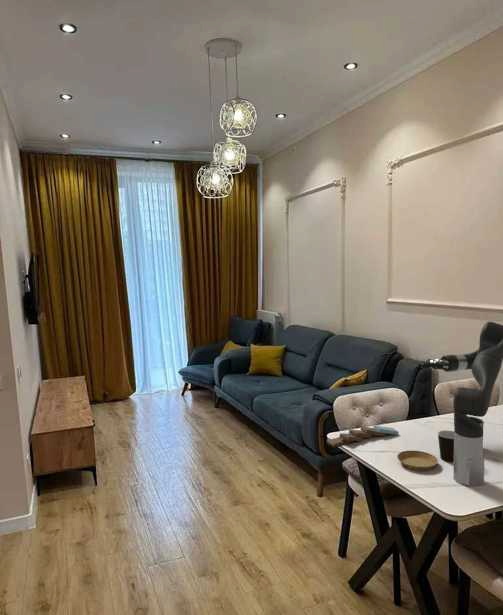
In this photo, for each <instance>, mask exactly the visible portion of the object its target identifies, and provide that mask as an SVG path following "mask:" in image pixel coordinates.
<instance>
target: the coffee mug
mask: <svg viewBox="0 0 503 615" xmlns="http://www.w3.org/2000/svg"><path fill="white" fill-rule="evenodd" d="M437 438H438V448H439V458H440V460H441V461H443V462H446V463H454V430H440V431H438V432H437Z"/></svg>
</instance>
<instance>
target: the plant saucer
mask: <svg viewBox="0 0 503 615" xmlns="http://www.w3.org/2000/svg"><path fill="white" fill-rule="evenodd" d="M397 459H398V461H399V462H400V463H401V464H402V465H403V466H404V467H406V468H408V469H411V470H414V471H428V470H430V469H433V468H434V467H435V466H436V465H437V463H438V458H437V457H436V456H435V455H433V454H431V453H428V452H426V451H421V450H413V449H412V450H404V451H401V452H399V453H397Z"/></svg>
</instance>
